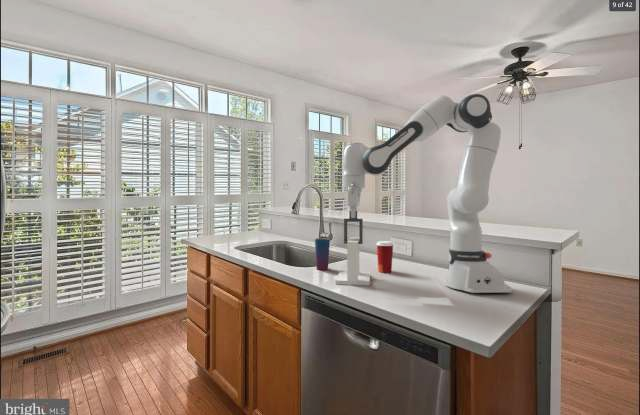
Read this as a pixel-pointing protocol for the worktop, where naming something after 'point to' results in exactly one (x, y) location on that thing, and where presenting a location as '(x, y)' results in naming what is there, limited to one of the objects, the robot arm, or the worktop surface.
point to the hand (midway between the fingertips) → (353, 217)
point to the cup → (322, 253)
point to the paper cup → (384, 256)
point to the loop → (359, 228)
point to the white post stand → (353, 267)
